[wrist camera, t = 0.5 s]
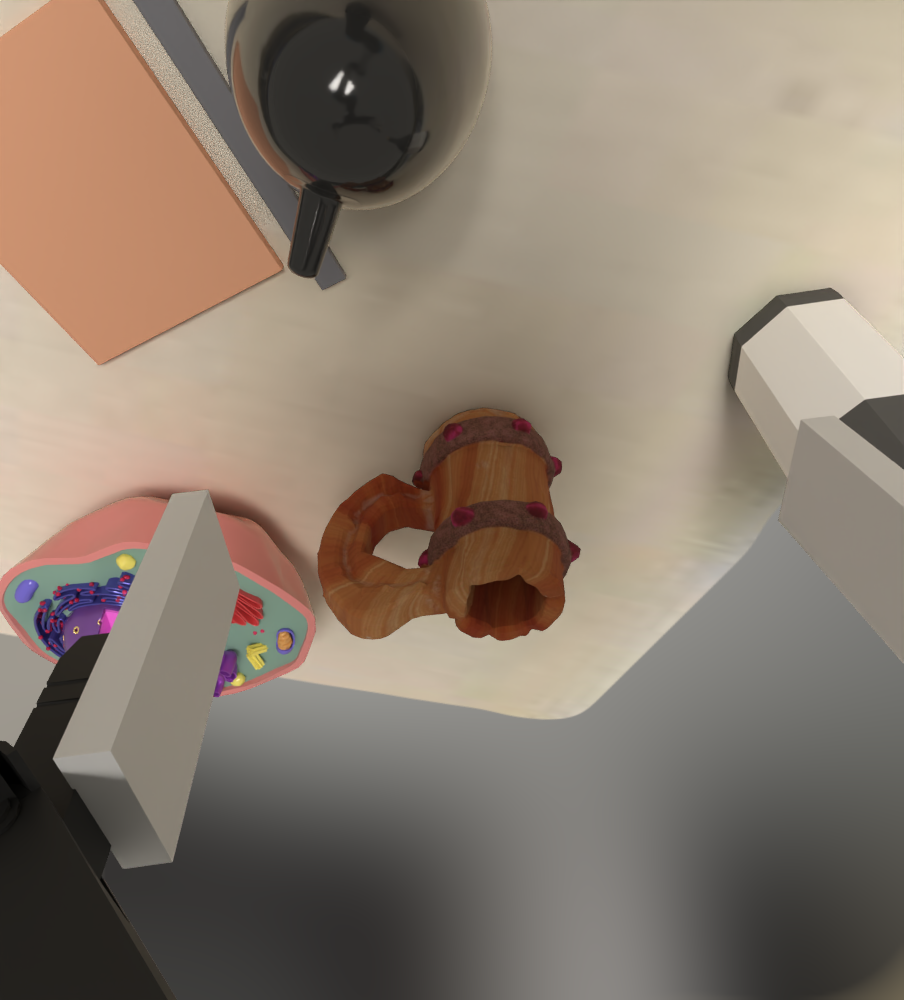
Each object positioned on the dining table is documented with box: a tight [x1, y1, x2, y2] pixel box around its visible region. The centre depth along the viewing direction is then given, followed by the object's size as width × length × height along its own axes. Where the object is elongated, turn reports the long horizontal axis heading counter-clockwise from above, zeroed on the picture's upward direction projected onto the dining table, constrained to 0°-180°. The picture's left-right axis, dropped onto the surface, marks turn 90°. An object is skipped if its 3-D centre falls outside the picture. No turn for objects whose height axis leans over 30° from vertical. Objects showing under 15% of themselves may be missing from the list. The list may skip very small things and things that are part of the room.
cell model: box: [0, 497, 316, 697], centre depth 47 cm, size 17×20×11 cm
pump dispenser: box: [225, 0, 492, 278], centre depth 25 cm, size 10×10×15 cm
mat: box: [0, 0, 283, 365], centre depth 35 cm, size 13×14×1 cm
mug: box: [318, 408, 581, 641], centre depth 40 cm, size 15×8×15 cm, turn 92°
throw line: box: [133, 0, 346, 290], centre depth 32 cm, size 2×18×1 cm, turn 26°
